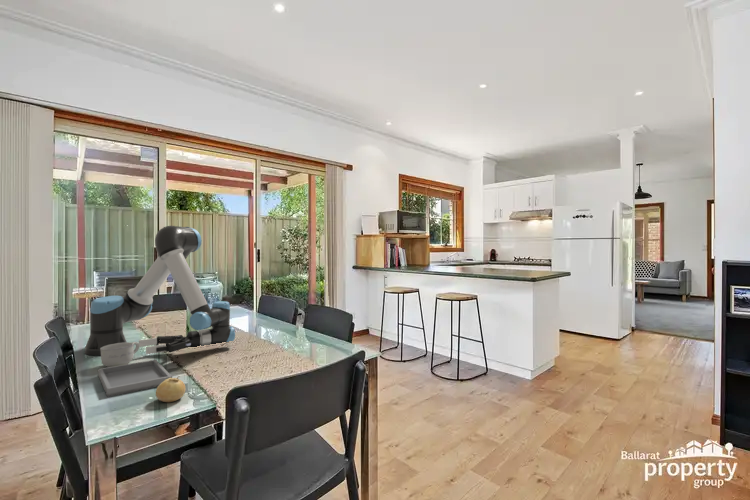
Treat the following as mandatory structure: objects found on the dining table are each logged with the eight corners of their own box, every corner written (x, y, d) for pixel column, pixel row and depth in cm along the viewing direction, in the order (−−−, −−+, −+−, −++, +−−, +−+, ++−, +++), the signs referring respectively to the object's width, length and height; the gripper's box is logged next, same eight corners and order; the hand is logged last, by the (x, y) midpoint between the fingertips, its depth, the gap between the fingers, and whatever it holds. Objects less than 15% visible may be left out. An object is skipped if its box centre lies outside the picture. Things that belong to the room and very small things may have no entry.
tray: (98, 375, 132) (98, 368, 132) (155, 366, 145) (155, 359, 145) (107, 396, 115) (107, 388, 115) (172, 383, 127) (172, 376, 127)
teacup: (107, 372, 137) (108, 350, 137) (94, 366, 142) (94, 345, 142) (147, 362, 148) (147, 342, 148) (133, 357, 154) (134, 338, 154)
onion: (154, 407, 108) (155, 382, 108) (156, 397, 116) (156, 374, 116) (185, 402, 112) (185, 379, 112) (185, 393, 119) (185, 371, 119)
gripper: (207, 354, 155) (149, 363, 140) (189, 341, 173) (136, 349, 159) (208, 336, 155) (149, 344, 140) (189, 325, 173) (136, 332, 159)
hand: (142, 347), depth 150 cm, fingers open, 13 cm apart
